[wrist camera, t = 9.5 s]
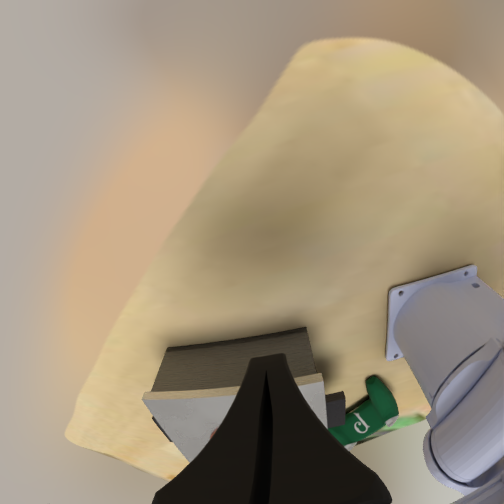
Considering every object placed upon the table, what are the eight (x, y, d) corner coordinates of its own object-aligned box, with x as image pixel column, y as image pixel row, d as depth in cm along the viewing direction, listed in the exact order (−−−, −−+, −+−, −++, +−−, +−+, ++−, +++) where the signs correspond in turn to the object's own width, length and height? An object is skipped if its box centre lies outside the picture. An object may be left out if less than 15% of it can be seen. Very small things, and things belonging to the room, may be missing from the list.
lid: (321, 372, 17) (324, 383, 16) (328, 456, 21) (329, 465, 20) (144, 391, 18) (141, 401, 17) (201, 468, 23) (200, 476, 22)
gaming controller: (316, 411, 30) (343, 447, 27) (303, 423, 27) (333, 462, 24) (379, 367, 27) (409, 406, 24) (373, 376, 24) (406, 419, 21)
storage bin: (330, 321, 22) (346, 368, 17) (335, 407, 27) (345, 448, 21) (147, 349, 24) (128, 393, 19) (192, 424, 28) (185, 463, 23)
